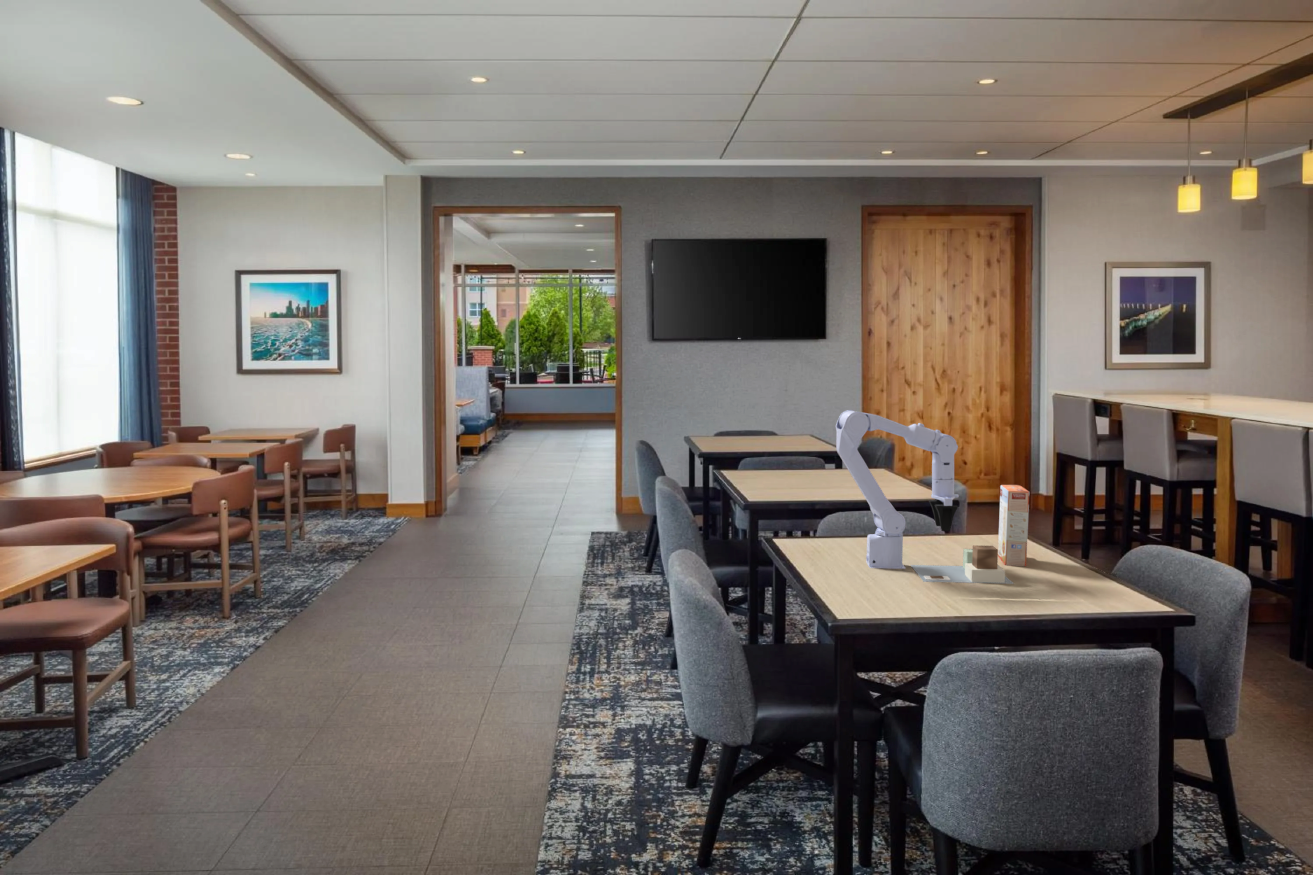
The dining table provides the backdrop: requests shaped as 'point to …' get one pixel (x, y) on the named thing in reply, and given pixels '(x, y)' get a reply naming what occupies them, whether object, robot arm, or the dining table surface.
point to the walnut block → (984, 557)
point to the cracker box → (1013, 525)
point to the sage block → (967, 556)
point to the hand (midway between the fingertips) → (943, 528)
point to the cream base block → (984, 574)
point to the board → (946, 574)
